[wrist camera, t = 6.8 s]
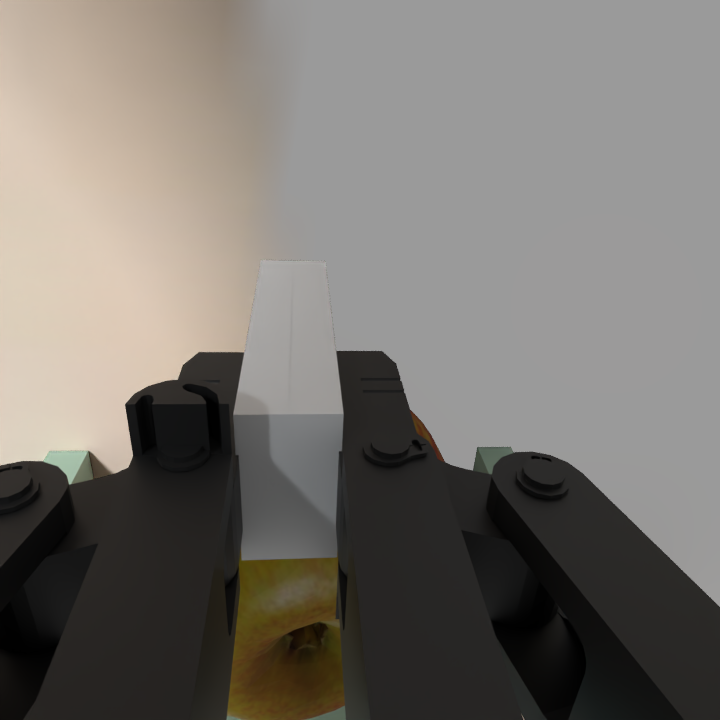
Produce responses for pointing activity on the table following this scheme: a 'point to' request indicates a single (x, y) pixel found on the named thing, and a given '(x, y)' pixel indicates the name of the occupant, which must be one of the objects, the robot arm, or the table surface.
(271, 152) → the table surface
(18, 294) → the table surface
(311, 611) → the fruit
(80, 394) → the table surface
